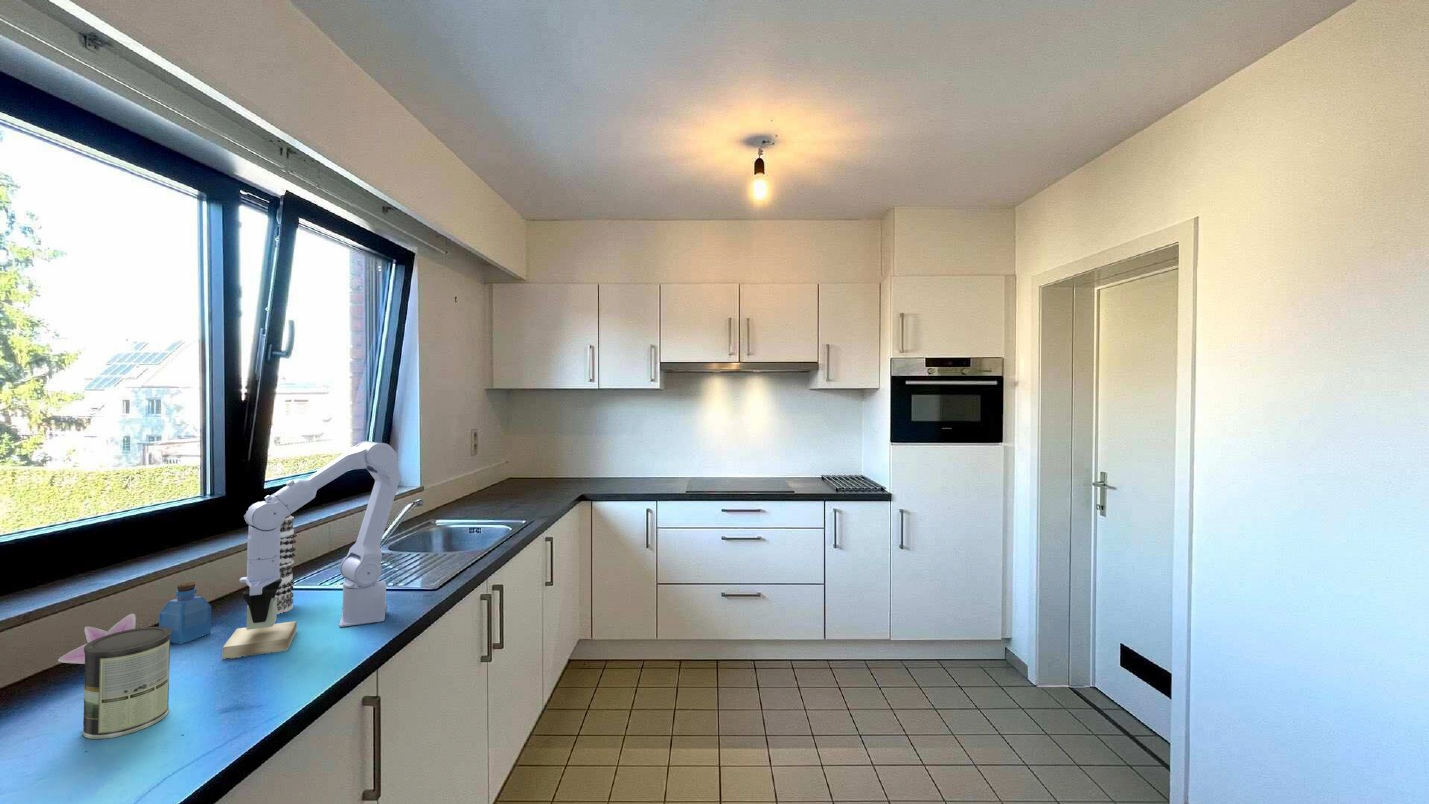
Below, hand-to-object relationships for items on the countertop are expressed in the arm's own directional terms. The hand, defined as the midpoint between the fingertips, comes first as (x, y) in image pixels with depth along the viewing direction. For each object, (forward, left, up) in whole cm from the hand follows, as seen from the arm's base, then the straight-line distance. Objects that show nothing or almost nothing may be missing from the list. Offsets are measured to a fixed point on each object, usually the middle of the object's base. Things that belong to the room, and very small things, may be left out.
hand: (262, 618), depth 128 cm
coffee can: (+13, +28, -6) cm, 31 cm away
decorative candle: (+2, -24, -6) cm, 25 cm away
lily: (+23, +3, -6) cm, 24 cm away
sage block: (0, 0, -1) cm, 1 cm away
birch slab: (0, 0, -6) cm, 6 cm away
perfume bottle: (+16, -12, -6) cm, 21 cm away
